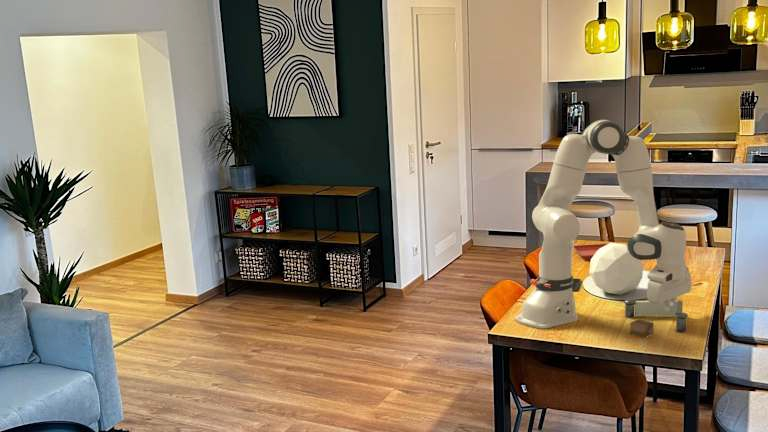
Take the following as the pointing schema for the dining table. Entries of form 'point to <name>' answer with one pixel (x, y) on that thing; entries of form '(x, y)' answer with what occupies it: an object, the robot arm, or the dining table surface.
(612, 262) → the geometric orb
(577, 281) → the phone
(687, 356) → the dining table surface
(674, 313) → the bar
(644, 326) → the walnut block
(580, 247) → the plant saucer
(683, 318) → the gate posts
